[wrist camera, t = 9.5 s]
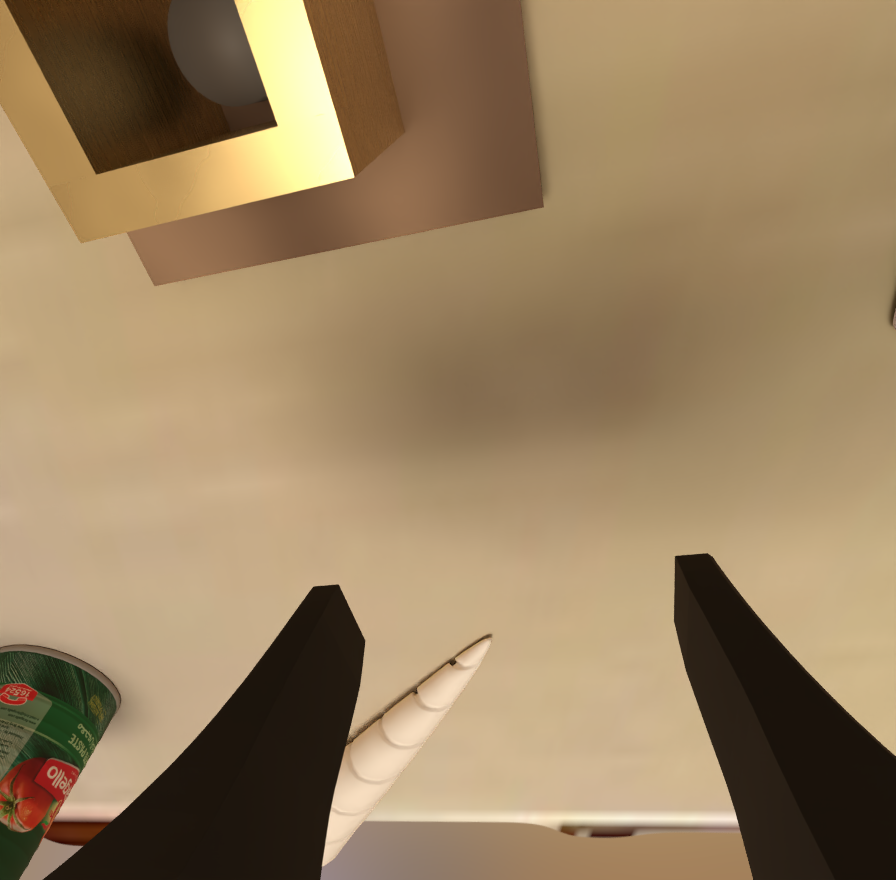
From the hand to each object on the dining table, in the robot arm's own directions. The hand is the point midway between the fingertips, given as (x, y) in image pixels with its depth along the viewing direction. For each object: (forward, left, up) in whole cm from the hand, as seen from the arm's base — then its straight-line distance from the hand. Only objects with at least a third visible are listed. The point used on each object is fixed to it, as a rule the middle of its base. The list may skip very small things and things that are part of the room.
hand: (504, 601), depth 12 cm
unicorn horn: (+12, +23, -10) cm, 28 cm away
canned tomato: (+30, +16, -10) cm, 35 cm away
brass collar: (+4, -11, -8) cm, 14 cm away
